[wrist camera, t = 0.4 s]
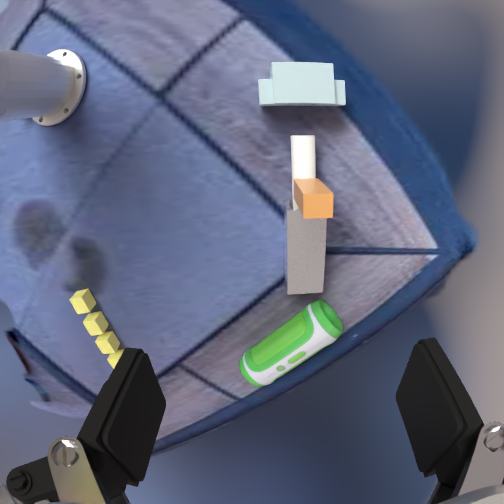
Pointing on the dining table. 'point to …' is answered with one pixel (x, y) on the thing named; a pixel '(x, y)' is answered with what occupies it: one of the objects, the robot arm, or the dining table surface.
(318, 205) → the hammer
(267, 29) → the dining table surface
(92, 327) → the yellow cubes
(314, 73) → the socket block
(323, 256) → the grey concrete brick
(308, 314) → the speaker
